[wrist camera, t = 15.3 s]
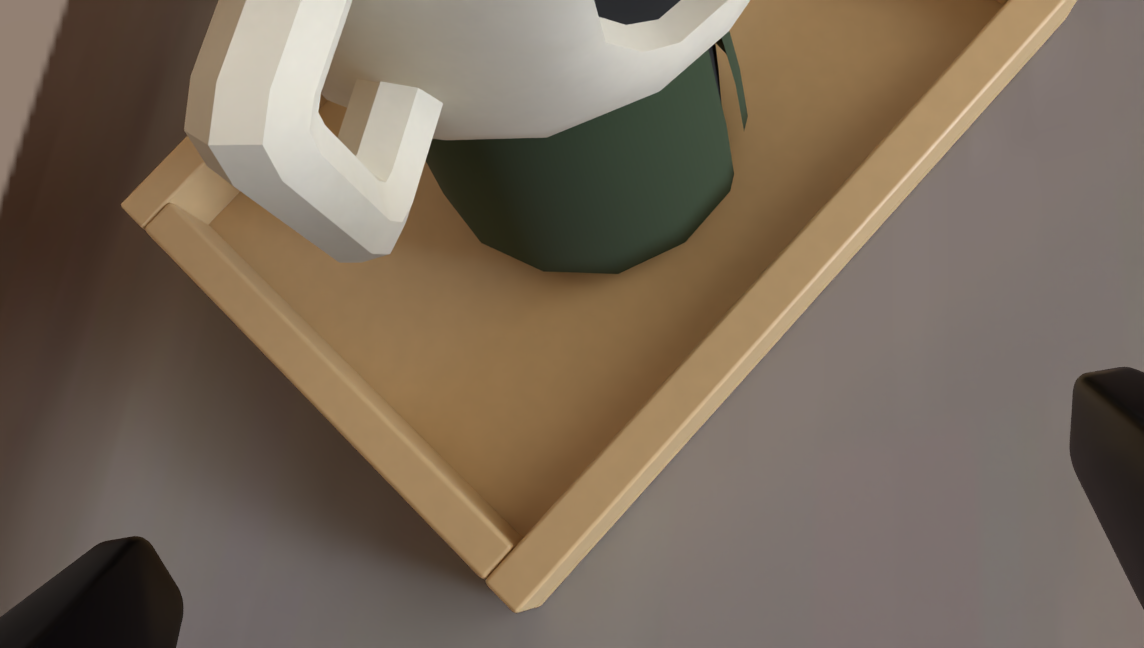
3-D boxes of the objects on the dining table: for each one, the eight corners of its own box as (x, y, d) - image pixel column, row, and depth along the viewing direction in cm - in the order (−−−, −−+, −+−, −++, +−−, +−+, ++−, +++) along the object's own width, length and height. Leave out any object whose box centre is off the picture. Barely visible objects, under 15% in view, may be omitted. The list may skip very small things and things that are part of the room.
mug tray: (1064, 19, 18) (1104, -44, 16) (539, 607, 17) (515, 616, 15) (637, -243, 21) (628, -321, 19) (176, 236, 20) (118, 204, 18)
